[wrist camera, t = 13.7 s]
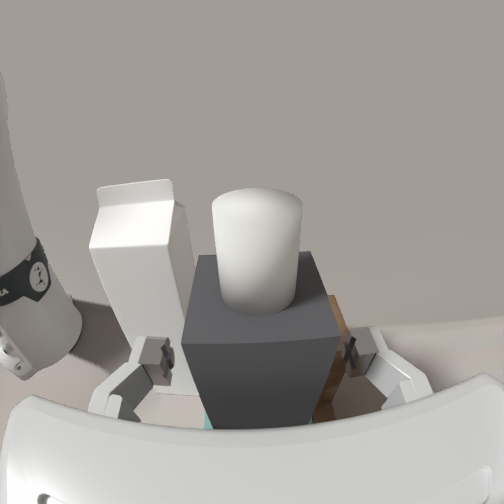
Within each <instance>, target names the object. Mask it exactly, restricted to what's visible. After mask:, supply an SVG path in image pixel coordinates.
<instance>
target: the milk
mask: <svg viewBox="0 0 504 504" xmlns="http://www.w3.org/2000/svg"><path fill="white" fill-rule="evenodd" d="M97 197H98V201H99V206H100V209H99V213H98V216H97V219H96V223H95V226H94V230H93V233H92V237H91V241H90V245H89V250H90V253H91V255H92V258H93V261H94V264H95V267H96V269H97V272H98V275H99V277H100V280H101V282H102V285H103V287H104V290H105V292H106V295H107V297H108V299H109V302H110V304H111V306H112V309H113V311H114V313H115V315H116V318H117V320H118V322H119V324H120V326H121V328H122V330H123V332H124V334H125V336H126V338H127V340H128V342H129V344H130V346H131V348H133V345H134V342H135V339H136V337H137V336H138V335H139V336H153V337H168V338H169V340H170V342H171V343H170V347H172V348H173V350H174V355H175V363H174V367H173V368H172V369H171V372H172V380H171V386H157V385H153V386H154V389H155V391H156V392H157V393H163V394H175V395H192V396H199V393H198V391H197V388H196V385H195V383H194V380H193V377H192V375H191V372H190V369H189V366H188V364H187V361H186V358H185V355H184V352H183V349H182V346H181V339H182V334H183V328H184V323H185V318H186V313H187V308H188V303H189V299H190V294H191V289H192V284H193V280H194V275H195V266H194V260H193V254H192V248H191V241H190V234H189V227H188V221H187V213H186V207H185V206H184V205H182V204H181V203H179V202H177V201H176V200H175V197H174V189H173V183H172V182H171V180H169V179H163V180H154V181H145V182H137V183H128V184H120V185H113V186H106V187H100V188H98V190H97Z"/></svg>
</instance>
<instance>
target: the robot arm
mask: <svg viewBox="0 0 504 504" xmlns="http://www.w3.org/2000/svg"><path fill="white" fill-rule="evenodd" d="M7 119H8V103H7V96H6V91H5V86H4V80H3V77H2V75H1V73H0V363H1V364H2V365H3V366H4V367H6V368H7V369H8V370H9V371H11V372H12V373H13V374H15V375H16V376H17V377H19V378H20V379H22V380H27V379H29V378H30V377H32V376H33V375H34V374H35V373H36V372H37V371H39V370H41V369H43V368H46V367H48V366H51V365H53V364H55V363H56V362H58V361H59V360H61V359H62V358H63V357H64V356H65V355H66V354H67V353H68V352H69V351H70V350H71V349H72V348H73V346H74V345H75V343H76V342H77V340H78V338H79V335H80V333H81V329H82V316H81V314H80V312H79V310H78V309H77V308H76V307H75V306H74V304H73V298H72V296H71V295H70V293H69V292H66V291H65V290H64V288H63V286H62V285H61V283H60V281H59V279H58V278H57V276H56V274H55V272H54V271H53V269H52V267H51V266H50V264H48V260H47V258H46V255H45V253H44V249H43V246H42V245H41V243H40V241H39V239H38V238H37V237H35V235H34V232H33V229H32V226H31V223H30V220H29V217H28V213H27V210H26V207H25V204H24V200H23V196H22V192H21V189H20V184H19V181H18V178H17V173H16V169H15V165H14V160H13V155H12V150H11V144H10V139H9V131H8V124H7ZM345 337H346V338H345V339H344V340H343V341H342V345H341V353H342V357H343V359H344V360H345V361H346V362H347V364H346V366H345V367H346V370H347V373H348V377H349V378H350V377H357V376H363V375H365V377H366V378H367V379H368V380H369V381H370V382H371V383H372V384H373V385H374V386H376V387H377V388H378V389H379V390H380V391H381V392H382V393H383V394H384V395H385V396H386V397H387V398H388V399H387V400H386V402H385V403H384V404H383V405H382V407H381V409H382V410H380V411H376V412H372V413H368V414H363V415H359V416H354V417H349V418H344V419H339V420H333V421H328V422H321V423H314V424H307V425H299V426H289V427H278V428H263V429H198V428H183V427H172V426H162V425H154V424H147V423H140V421H141V420H140V418H139V417H138V416H137V415H136V414H135V413H134V411H133V410H134V409H135V408H136V407H137V405H138V404H139V403H140V402H141V401H142V400H143V398H144V397H145V396H146V395H147V394H148V392H149V391H150V390H151V389H152V388H153V387H154V386H153V385H157V386H171V380H172V372H171V369H172V368H173V367H174V363H175V355H174V350H173V348H172V347H170V343H171V342H170V340H169V338H168V337H153V336H139V335H138V336H137V337H136V339H135V342H134V345H133V348H132V351H131V354H130V357H129V361H128V362H125V363H124V364H123V365H122V366H120V367H119V368H118V369H117V370H116V371H115V372H114V373H112V374H111V375H110V376H109V377H108V378H107V379H106V380H104V381H103V382H102V383H101V384H100V385H99V386H97V387H96V388H95V389H94V391H93V393H92V396H91V400H90V403H89V406H88V410H87V411H83V410H79V409H76V408H72V407H69V406H66V405H62V404H59V403H56V402H53V401H50V400H47V399H45V398H42V397H39V396H36V395H30V396H28V397H26V398H25V399H24V400H22V401H21V402H20V403H19V404H17V405H16V406H15V407H14V408H13V409H12V411H11V413H10V416H9V419H8V422H7V426H6V430H5V434H4V438H3V442H2V447H1V454H0V504H504V383H502V382H501V381H499V380H497V379H496V378H494V377H492V376H491V375H489V374H486V373H480V374H478V375H476V376H474V377H472V378H470V379H468V380H465V381H463V382H461V383H459V384H456V385H454V386H452V387H449V388H447V389H444V390H442V391H439V392H436V393H433V391H432V388H431V386H430V384H429V382H428V379H427V377H426V375H425V374H424V373H423V372H422V371H420V370H419V369H417V368H416V367H415V366H413V365H412V364H410V363H409V362H408V361H406V360H405V359H403V358H402V357H401V356H399V355H398V354H396V353H395V352H394V351H392V350H389V349H388V347H387V345H386V343H385V341H384V339H383V336H382V334H381V332H380V330H379V328H378V327H377V326H369V327H360V328H353V329H347V330H346V332H345Z"/></svg>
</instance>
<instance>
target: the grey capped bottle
mask: <svg viewBox="0 0 504 504" xmlns="http://www.w3.org/2000/svg"><path fill="white" fill-rule="evenodd" d="M212 212H213V223H214V234H215V244H216V253H217V255H199V258H198V262H197V266H196V271H195V275H194V280H193V284H192V289H191V294H190V299H189V303H188V308H187V313H186V318H185V323H184V328H183V334H182V339H181V346H182V349H183V352H184V355H185V358H186V361H187V364H188V366H189V369H190V372H191V375H192V377H193V380H194V383H195V385H196V388H197V391H198V393H199V396H200V398H201V401H202V403H203V406H204V408H205V411H206V413H207V416H208V418H209V420H210V423H211V425H212V427H213V429H263V428H278V427H289V426H299V425H307V424H309V421H310V419H311V417H312V414H313V412H314V410H315V407H316V405H317V402H318V400H319V398H320V395H321V393H322V390H323V387H324V385H325V382H326V380H327V377H328V374H329V372H330V369H331V366H332V363H333V360H334V358H335V355H336V352H337V349H338V346H339V343H340V340H341V337H342V335H341V332H340V329H339V326H338V323H337V321H336V318H335V315H334V312H333V309H332V307H331V304H330V301H329V299H328V296H327V293H326V290H325V288H324V285H323V283H322V280H321V277H320V275H319V272H318V270H317V267H316V265H315V262H314V259H313V257H312V255H311V252H310V251H307V252H299V244H300V230H301V217H302V202H301V200H300V199H299V198H298V197H296V196H295V195H293V194H291V193H288V192H285V191H281V190H276V189H269V188H248V189H240V190H235V191H231V192H228V193H225V194H223V195H221V196H219V197H218V198H216V199H215V200H214V201H213V204H212Z"/></svg>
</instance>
